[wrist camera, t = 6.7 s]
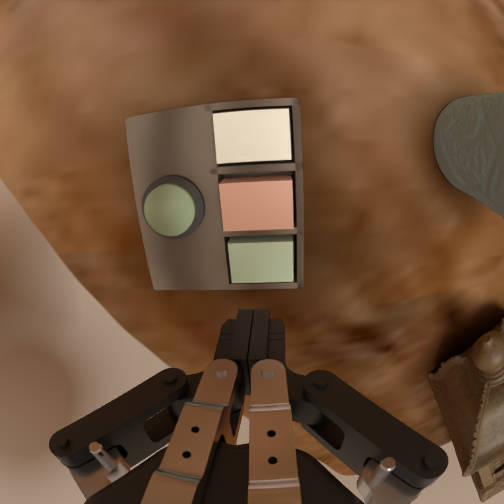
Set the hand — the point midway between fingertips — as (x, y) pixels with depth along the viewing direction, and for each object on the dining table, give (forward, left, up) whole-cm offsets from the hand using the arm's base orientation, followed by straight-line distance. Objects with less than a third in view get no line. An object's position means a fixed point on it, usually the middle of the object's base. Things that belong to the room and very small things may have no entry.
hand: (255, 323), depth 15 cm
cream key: (0, -8, -9) cm, 13 cm away
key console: (+3, -4, -11) cm, 12 cm away
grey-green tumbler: (-19, -8, -11) cm, 24 cm away
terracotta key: (0, -4, -9) cm, 10 cm away
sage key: (0, +1, -10) cm, 10 cm away
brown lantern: (-30, +20, -12) cm, 38 cm away
